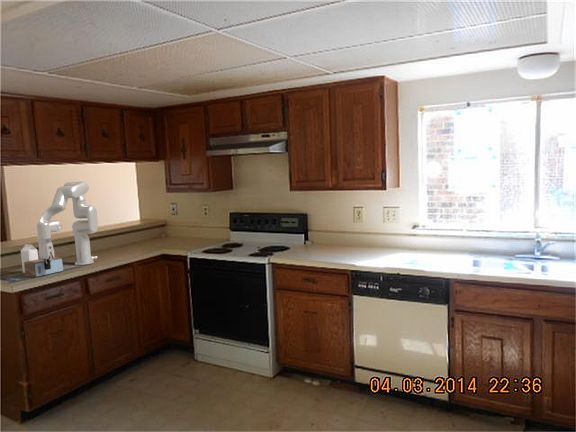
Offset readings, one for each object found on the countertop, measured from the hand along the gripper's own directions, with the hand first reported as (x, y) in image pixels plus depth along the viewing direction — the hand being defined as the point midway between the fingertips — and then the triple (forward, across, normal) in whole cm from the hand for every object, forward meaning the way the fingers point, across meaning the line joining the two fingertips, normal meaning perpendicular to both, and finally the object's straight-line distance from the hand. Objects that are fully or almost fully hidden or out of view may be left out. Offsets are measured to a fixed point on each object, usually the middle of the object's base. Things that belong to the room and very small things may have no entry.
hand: (47, 269), depth 288 cm
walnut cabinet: (+4, +10, -3) cm, 12 cm away
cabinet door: (+4, +3, -3) cm, 5 cm away
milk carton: (+4, +24, -2) cm, 25 cm away
